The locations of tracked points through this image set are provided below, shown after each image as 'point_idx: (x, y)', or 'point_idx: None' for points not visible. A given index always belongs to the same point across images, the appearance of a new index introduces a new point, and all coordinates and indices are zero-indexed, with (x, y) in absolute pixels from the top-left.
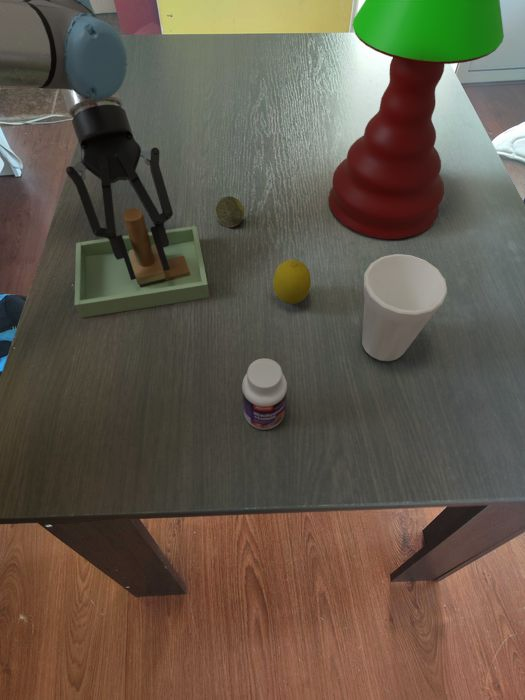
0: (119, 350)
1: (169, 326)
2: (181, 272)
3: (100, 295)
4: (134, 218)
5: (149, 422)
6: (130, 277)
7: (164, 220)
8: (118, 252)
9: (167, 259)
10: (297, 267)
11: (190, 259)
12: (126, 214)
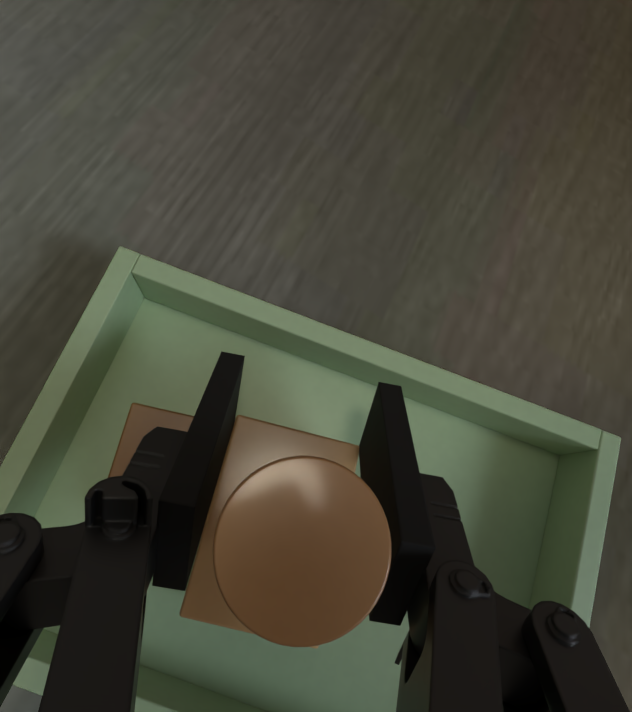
0: (491, 256)
1: (321, 250)
2: (163, 418)
3: (491, 501)
4: (310, 485)
5: (486, 39)
6: (401, 392)
7: (75, 529)
8: (430, 498)
9: None
10: None
11: (81, 494)
12: (350, 579)
